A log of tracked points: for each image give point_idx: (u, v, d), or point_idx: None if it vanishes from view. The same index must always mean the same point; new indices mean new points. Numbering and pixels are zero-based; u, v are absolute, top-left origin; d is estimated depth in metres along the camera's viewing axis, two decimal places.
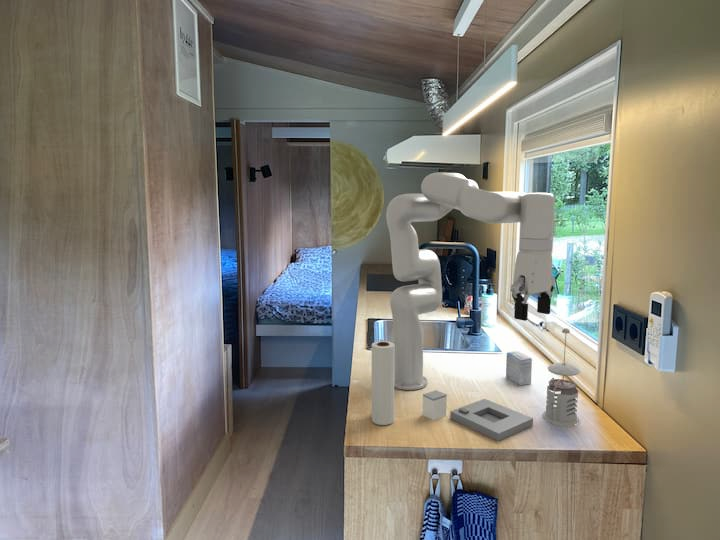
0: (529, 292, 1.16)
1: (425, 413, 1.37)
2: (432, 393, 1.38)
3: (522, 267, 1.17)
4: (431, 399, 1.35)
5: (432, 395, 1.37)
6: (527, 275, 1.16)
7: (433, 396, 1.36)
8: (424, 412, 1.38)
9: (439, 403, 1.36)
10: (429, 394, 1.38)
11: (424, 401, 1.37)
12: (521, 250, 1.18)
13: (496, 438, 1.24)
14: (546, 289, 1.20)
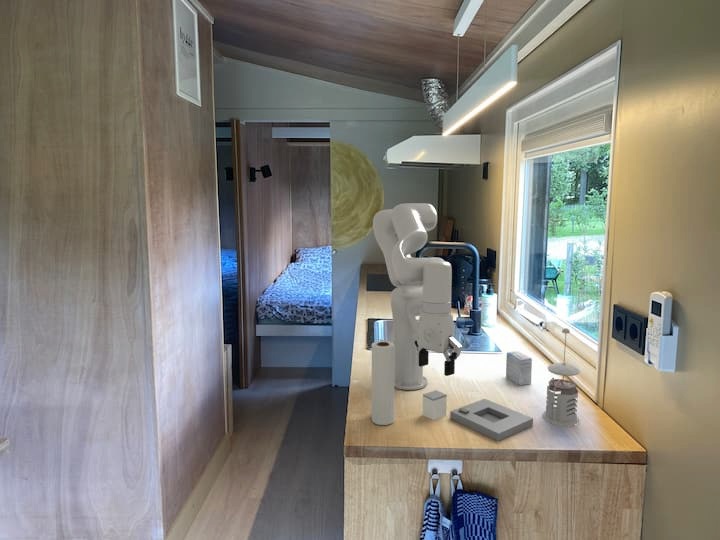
0: None
1: (425, 413, 1.37)
2: (432, 393, 1.38)
3: (449, 328, 1.30)
4: (431, 399, 1.35)
5: (432, 395, 1.37)
6: (453, 334, 1.31)
7: (433, 396, 1.36)
8: (424, 412, 1.38)
9: (439, 403, 1.36)
10: (429, 394, 1.37)
11: (424, 401, 1.37)
12: (441, 314, 1.30)
13: (496, 438, 1.24)
14: None
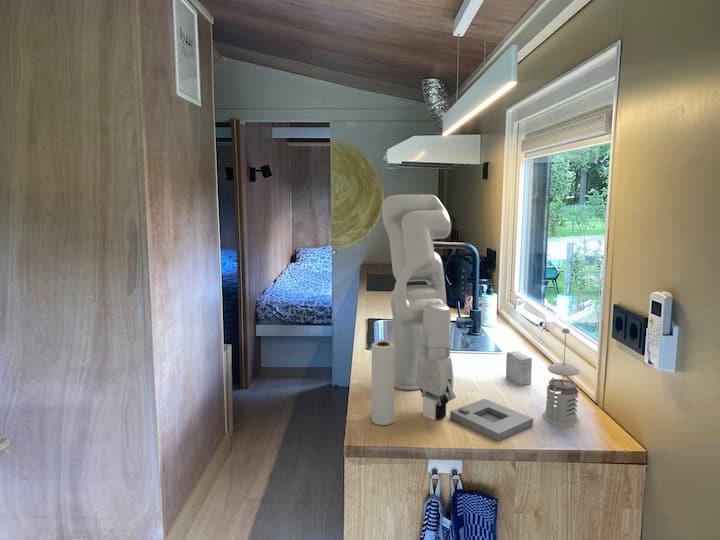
0: None
1: (425, 413, 1.37)
2: None
3: (448, 372, 1.32)
4: (431, 399, 1.35)
5: (432, 395, 1.37)
6: (451, 377, 1.33)
7: (433, 396, 1.36)
8: (424, 412, 1.38)
9: None
10: (429, 394, 1.38)
11: (424, 401, 1.37)
12: (440, 358, 1.32)
13: (496, 438, 1.24)
14: None
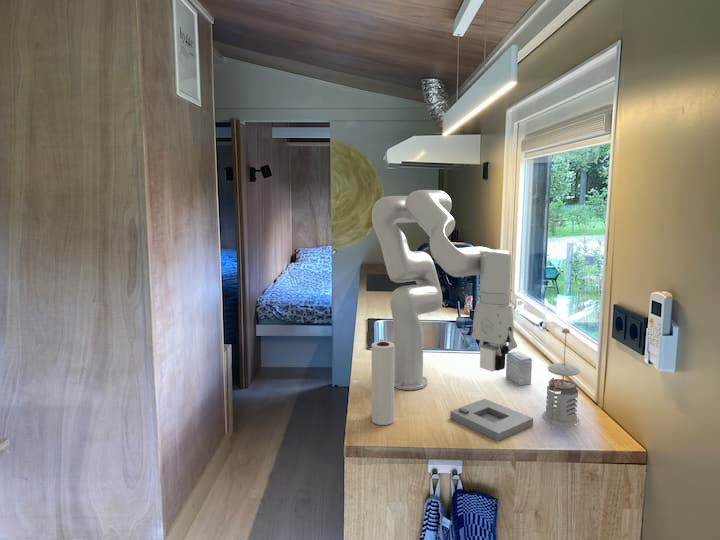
0: None
1: (483, 365, 1.31)
2: (490, 344, 1.32)
3: (509, 319, 1.26)
4: (490, 349, 1.28)
5: (490, 346, 1.30)
6: (512, 325, 1.27)
7: (492, 346, 1.30)
8: (482, 364, 1.31)
9: None
10: (487, 345, 1.31)
11: (482, 352, 1.31)
12: (501, 305, 1.26)
13: (496, 438, 1.24)
14: None
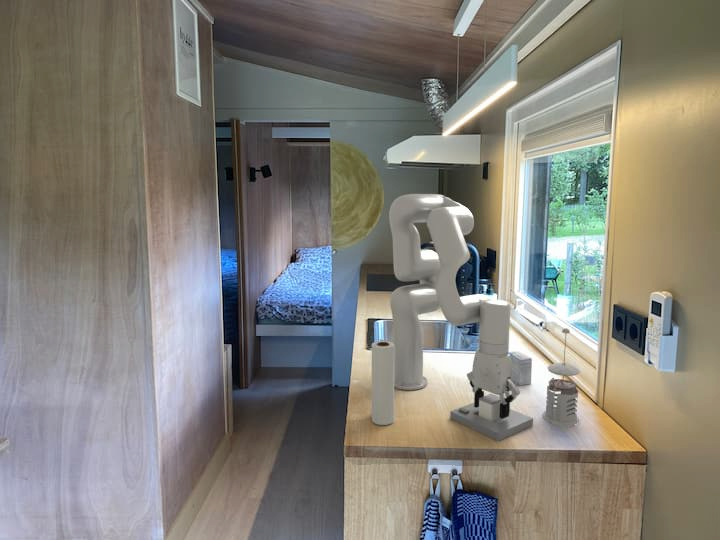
0: None
1: (482, 417, 1.33)
2: (488, 397, 1.34)
3: (508, 370, 1.28)
4: (489, 403, 1.31)
5: (489, 399, 1.32)
6: (511, 375, 1.29)
7: (490, 400, 1.32)
8: (480, 416, 1.33)
9: (497, 407, 1.32)
10: (485, 398, 1.33)
11: (480, 405, 1.33)
12: (500, 355, 1.28)
13: (496, 438, 1.24)
14: None
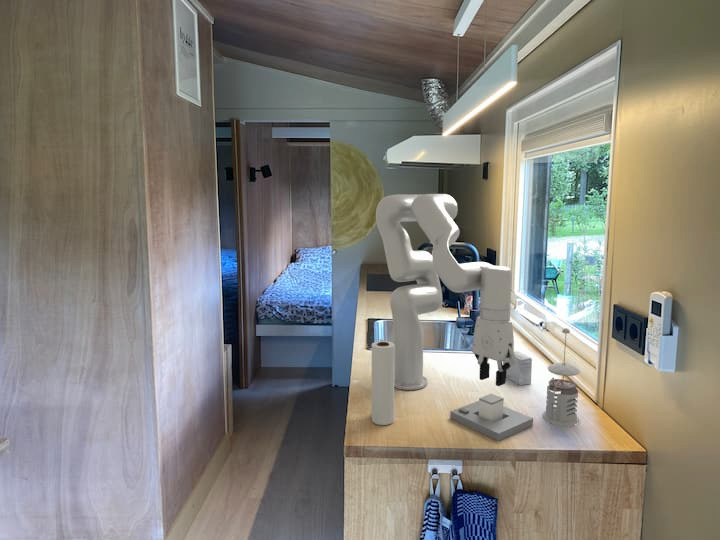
0: None
1: (482, 417, 1.33)
2: (488, 397, 1.34)
3: (509, 336, 1.26)
4: (489, 403, 1.31)
5: (489, 399, 1.32)
6: (512, 342, 1.28)
7: (490, 400, 1.32)
8: (480, 416, 1.33)
9: (497, 407, 1.32)
10: (485, 398, 1.33)
11: (480, 405, 1.33)
12: (501, 321, 1.26)
13: (496, 438, 1.24)
14: None
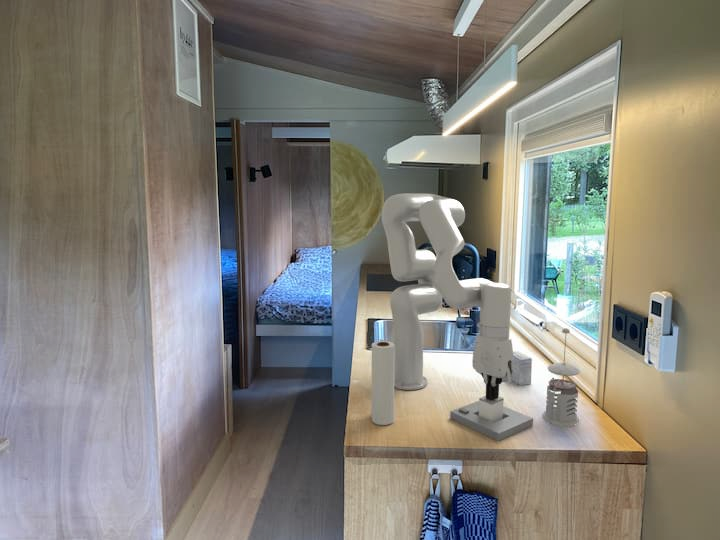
0: None
1: (482, 417, 1.33)
2: None
3: (509, 353, 1.27)
4: (489, 403, 1.31)
5: None
6: (512, 359, 1.28)
7: (490, 400, 1.32)
8: (480, 416, 1.33)
9: (497, 407, 1.32)
10: None
11: (480, 405, 1.33)
12: (501, 338, 1.27)
13: (496, 438, 1.24)
14: None
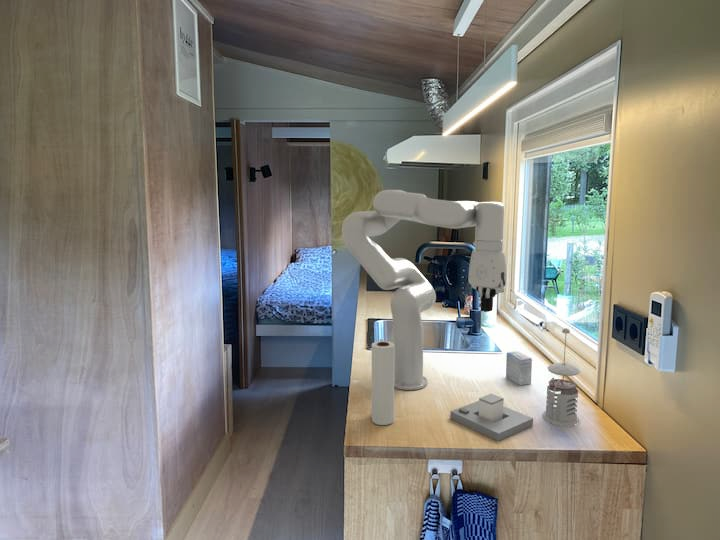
0: None
1: (482, 417, 1.33)
2: (488, 397, 1.34)
3: (502, 265, 1.37)
4: (489, 403, 1.31)
5: (489, 399, 1.32)
6: (505, 271, 1.38)
7: (490, 400, 1.32)
8: (480, 416, 1.33)
9: (497, 407, 1.32)
10: (485, 398, 1.33)
11: (480, 405, 1.33)
12: (494, 251, 1.37)
13: (496, 438, 1.24)
14: None
